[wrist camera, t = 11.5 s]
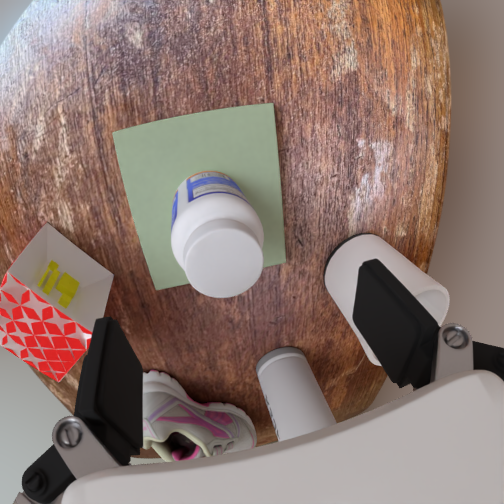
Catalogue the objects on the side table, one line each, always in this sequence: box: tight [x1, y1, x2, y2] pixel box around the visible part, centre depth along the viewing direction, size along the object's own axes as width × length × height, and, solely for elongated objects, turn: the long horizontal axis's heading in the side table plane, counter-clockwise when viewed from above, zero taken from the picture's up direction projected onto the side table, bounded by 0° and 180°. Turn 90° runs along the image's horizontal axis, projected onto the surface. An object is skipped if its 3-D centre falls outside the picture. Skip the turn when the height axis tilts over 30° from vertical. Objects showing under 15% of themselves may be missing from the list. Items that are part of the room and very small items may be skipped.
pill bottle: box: [171, 170, 264, 298], centre depth 19 cm, size 5×5×10 cm
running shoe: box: [143, 370, 257, 462], centre depth 33 cm, size 9×22×10 cm, turn 41°
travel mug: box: [256, 347, 337, 442], centre depth 27 cm, size 6×7×20 cm
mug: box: [324, 233, 450, 366], centre depth 27 cm, size 11×9×10 cm
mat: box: [112, 103, 286, 290], centre depth 23 cm, size 14×12×1 cm
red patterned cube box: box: [0, 223, 114, 382], centre depth 20 cm, size 8×8×8 cm
